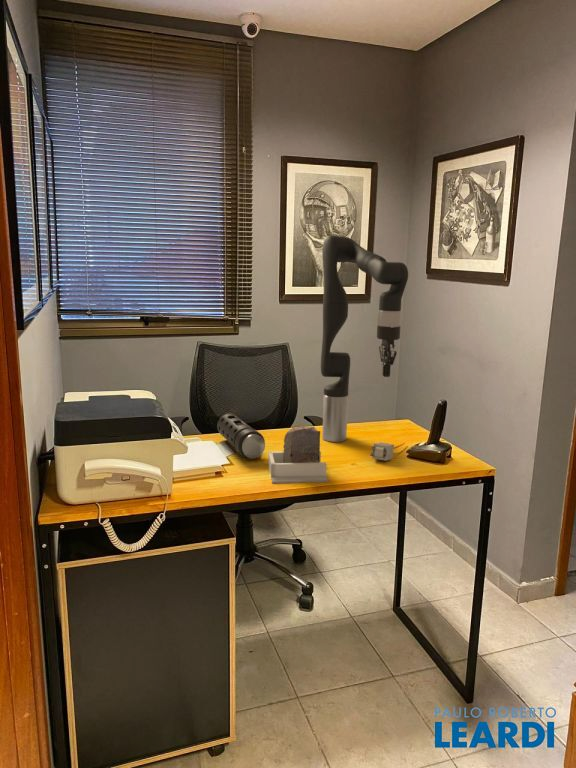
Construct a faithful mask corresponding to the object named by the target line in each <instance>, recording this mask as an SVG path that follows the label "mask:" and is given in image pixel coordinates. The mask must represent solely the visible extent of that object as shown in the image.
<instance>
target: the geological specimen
mask: <svg viewBox="0 0 576 768" xmlns="http://www.w3.org/2000/svg"><path fill="white" fill-rule="evenodd" d="M320 451H321V430H318V429H316V427H315V426H298V427H292V428H290V429H289V430H288V431H286V433H285V435H284V439H283V452H284V453H283V463H318V462H319V455H320Z"/></svg>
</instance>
